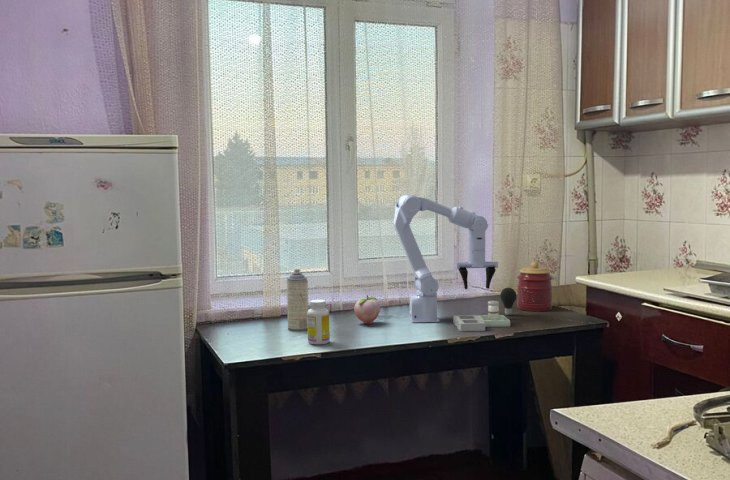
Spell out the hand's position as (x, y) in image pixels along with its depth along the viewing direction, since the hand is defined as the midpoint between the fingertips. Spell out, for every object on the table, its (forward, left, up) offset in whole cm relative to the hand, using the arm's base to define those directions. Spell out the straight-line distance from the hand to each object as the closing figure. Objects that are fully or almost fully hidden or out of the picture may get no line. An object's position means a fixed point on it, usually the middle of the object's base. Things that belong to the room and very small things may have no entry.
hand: (476, 288), depth 245 cm
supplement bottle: (-55, -30, -11) cm, 64 cm away
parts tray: (+4, -10, -10) cm, 15 cm away
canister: (+25, +14, -11) cm, 31 cm away
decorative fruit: (-39, -6, -11) cm, 41 cm away
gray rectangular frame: (-5, -14, -10) cm, 18 cm away
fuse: (+4, -10, -10) cm, 15 cm away
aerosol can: (-62, -11, -11) cm, 64 cm away
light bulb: (+12, +3, -11) cm, 16 cm away
